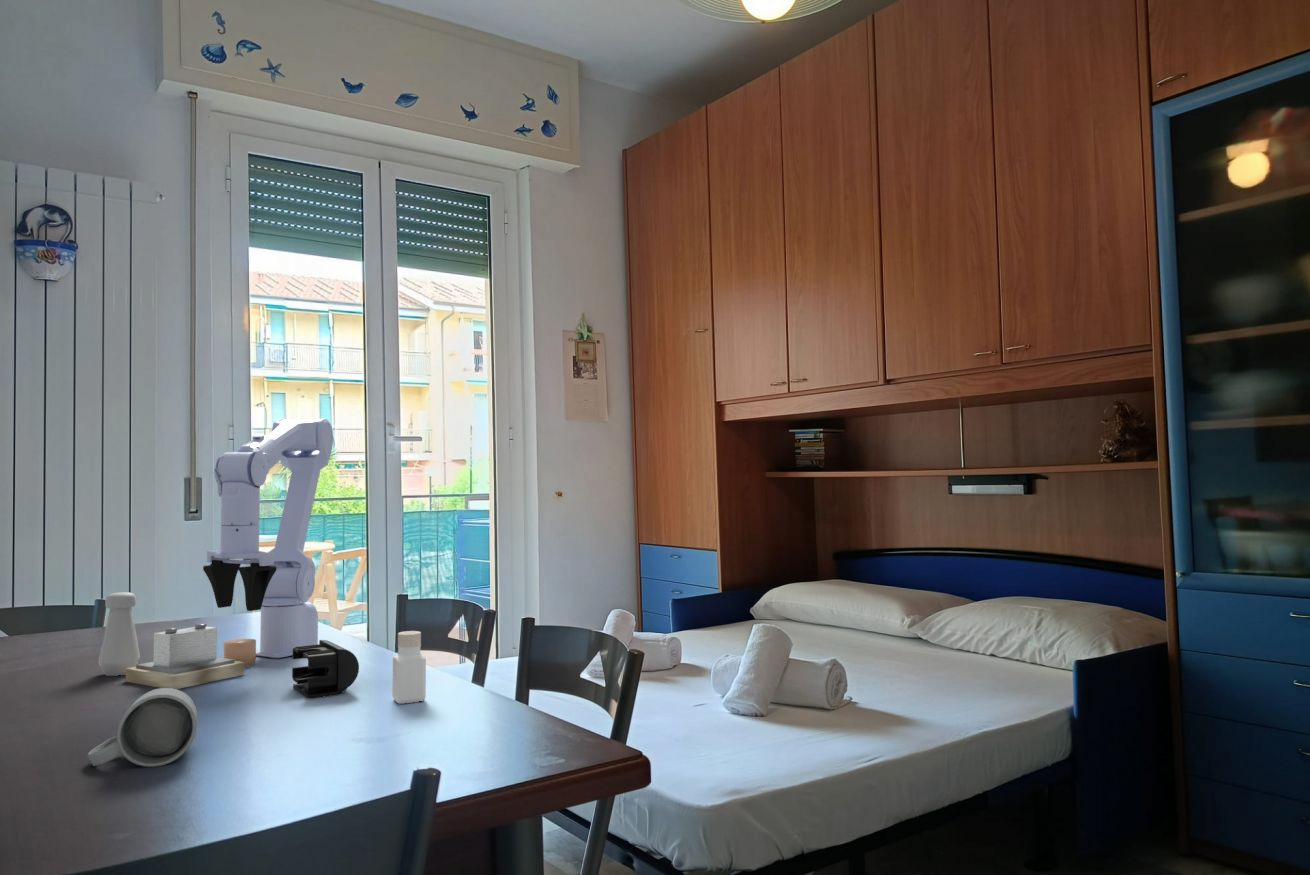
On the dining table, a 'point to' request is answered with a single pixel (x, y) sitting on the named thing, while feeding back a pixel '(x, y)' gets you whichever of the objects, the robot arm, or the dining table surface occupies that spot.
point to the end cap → (324, 670)
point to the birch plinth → (184, 673)
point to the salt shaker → (119, 636)
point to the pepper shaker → (409, 669)
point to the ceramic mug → (152, 730)
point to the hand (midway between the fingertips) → (239, 608)
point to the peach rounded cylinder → (241, 651)
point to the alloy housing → (185, 646)
